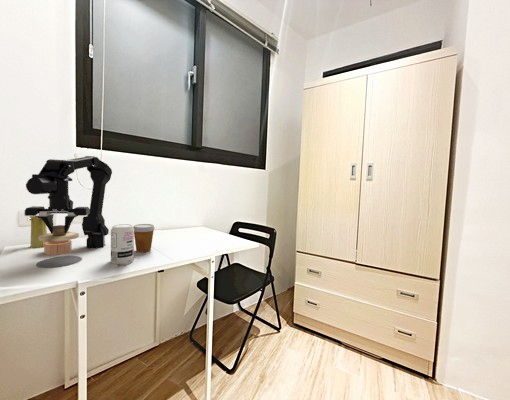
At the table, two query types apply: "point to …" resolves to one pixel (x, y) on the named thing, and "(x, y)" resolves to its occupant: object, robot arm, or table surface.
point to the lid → (58, 235)
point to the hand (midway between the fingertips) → (59, 233)
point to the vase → (37, 232)
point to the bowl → (57, 247)
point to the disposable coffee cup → (143, 237)
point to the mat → (59, 261)
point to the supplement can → (122, 244)
